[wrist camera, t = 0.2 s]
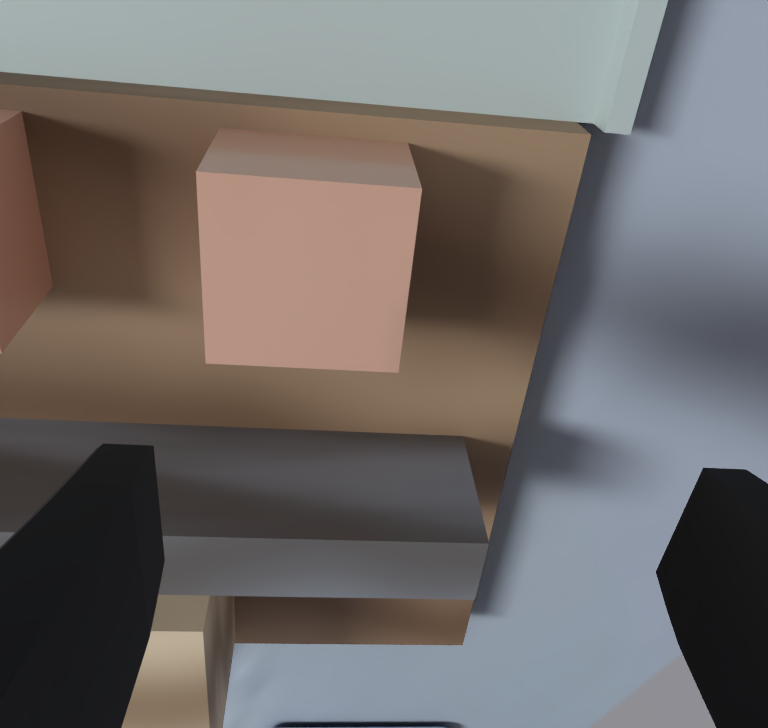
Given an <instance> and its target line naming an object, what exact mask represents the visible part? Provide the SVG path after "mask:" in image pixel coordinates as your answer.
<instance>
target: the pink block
mask: <svg viewBox="0 0 768 728" xmlns="http://www.w3.org/2000/svg"><path fill="white" fill-rule="evenodd" d="M196 183H197V203H198V223H199V243H200V263H201V282H202V302H203V322H204V342H205V361H206V364H226V365H247V366H267V367H288V368H309V369H329V370H350V371H371V372H391V373H398V372H399V364H400V357H401V349H402V341H403V333H404V326H405V318H406V310H407V302H408V295H409V287H410V279H411V271H412V263H413V256H414V248H415V240H416V232H417V225H418V217H419V209H420V201H421V194H422V187H421V183H420V180H419V177H418V174H417V171H416V167H415V164H414V161H413V158H412V155H411V152H410V148H409V145H408V143H403V142H391V141H379V140H367V139H354V138H342V137H330V136H318V135H306V134H294V133H282V132H269V131H257V130H245V129H233V128H221V127H220V128H219V130H218V132H217V134H216V136H215V138H214V139H213V141H212V143H211V145H210V147H209V148H208V150H207V152H206V154H205V156H204V158H203V159H202V161H201V163H200V165H199V167H198V169H197V170H196Z"/></svg>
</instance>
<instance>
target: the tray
mask: <svg viewBox="0 0 768 728" xmlns="http://www.w3.org/2000/svg"><path fill="white" fill-rule="evenodd" d="M667 3H668V0H0V72H10V73H21V74H32V75H44V76H55V77H67V78H78V79H90V80H101V81H112V82H124V83H135V84H147V85H158V86H170V87H181V88H192V89H204V90H215V91H227V92H238V93H250V94H261V95H272V96H284V97H295V98H307V99H318V100H330V101H341V102H352V103H364V104H375V105H387V106H398V107H409V108H421V109H432V110H444V111H455V112H467V113H478V114H489V115H501V116H512V117H524V118H535V119H547V120H558V121H569V122H581V123H592V124H594V125H596V126H597V127H598V128H599V129H601V130H602V131H603V132H604V133H615V134H626V135H630V134H631V131H632V127H633V124H634V120H635V116H636V113H637V109H638V106H639V102H640V99H641V95H642V92H643V88H644V85H645V81H646V77H647V74H648V70H649V67H650V63H651V60H652V56H653V53H654V49H655V46H656V42H657V39H658V35H659V31H660V28H661V24H662V21H663V17H664V14H665V10H666V7H667Z"/></svg>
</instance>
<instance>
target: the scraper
mask: <svg viewBox="0 0 768 728" xmlns="http://www.w3.org/2000/svg"><path fill="white" fill-rule="evenodd" d="M103 443H104V444H129V445H153V446H154V454H155V464H156V475H157V485H158V495H159V505H160V515H161V526H162V536H163V546H164V556H165V562H164V567H163V573H162V578H161V583H160V588H159V594H158V599H157V604H156V609H155V614H154V619H153V623H152V628H151V633H150V638H149V641H148V644H147V647H146V651H145V654H144V657H143V660H142V664H141V667H140V670H139V673H138V676H137V680H136V683H135V686H134V689H133V692H132V696H131V699H130V702H129V705H128V708H127V711H126V714H125V718H124V721H123V724H122V727H121V728H222V727H223V720H224V713H225V706H226V698H227V691H228V684H229V677H230V670H231V663H232V656H233V649H234V641H235V634H236V633H235V600H234V596H265V597H330V598H395V599H461V600H475V598H476V594H477V590H478V586H479V582H480V578H481V574H482V570H483V566H484V562H485V558H486V554H487V551H488V547H489V541H488V537H487V533H486V528H485V524H484V520H483V516H482V512H481V508H480V504H479V500H478V496H477V491H476V487H475V483H474V479H473V475H472V471H471V467H470V463H469V459H468V455H467V450H466V446H465V442H464V438H463V436H449V435H424V434H399V433H373V432H348V431H323V430H297V429H272V428H247V427H222V426H196V425H171V424H146V423H121V422H95V421H70V420H45V419H19V418H0V547H1V546H2V545H3V544H4V543H5V542H6V541H7V540H8V539H9V538H10V537H11V536H12V535H13V534H14V533H15V532H16V531H17V530H18V529H19V528H20V527H21V526H22V525H23V524H24V523H25V522H26V521H27V520H28V519H29V518H30V517H31V516H32V515H33V514H34V513H35V512H36V511H37V510H38V509H39V508H40V507H41V506H42V505H43V504H44V503H45V502H46V501H47V500H48V499H49V498H50V497H51V496H52V495H53V494H54V493H55V492H56V490H57V489H58V488H59V487H60V486H61V485H62V484H63V483H64V482H65V481H66V480H67V479H68V478H69V477H70V476H71V475H72V474H73V473H74V471H75V470H76V469H77V468H78V467H79V466H80V465H81V464H82V463H83V462H84V461H85V460H86V459H87V458H88V457H89V456H90V455H91V454H92V453H93V451H94V450H96V449H97V448H98V447H99V446H101V445H102V444H103Z"/></svg>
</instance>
